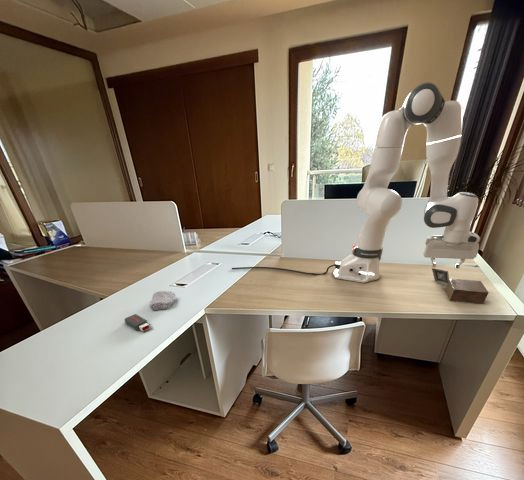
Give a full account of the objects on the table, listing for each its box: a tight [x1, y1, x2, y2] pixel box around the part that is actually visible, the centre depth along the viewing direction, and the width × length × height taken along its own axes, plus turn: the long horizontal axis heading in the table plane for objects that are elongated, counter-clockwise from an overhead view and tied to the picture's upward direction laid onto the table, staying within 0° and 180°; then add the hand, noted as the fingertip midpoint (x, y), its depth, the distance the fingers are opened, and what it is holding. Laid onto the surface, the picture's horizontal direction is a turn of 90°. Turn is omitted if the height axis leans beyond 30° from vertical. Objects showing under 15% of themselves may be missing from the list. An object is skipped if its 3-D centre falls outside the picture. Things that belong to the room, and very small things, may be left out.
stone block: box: [148, 290, 176, 311], centre depth 126 cm, size 12×5×10 cm
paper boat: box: [431, 267, 450, 286], centre depth 131 cm, size 12×6×9 cm
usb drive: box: [124, 313, 151, 333], centre depth 112 cm, size 5×12×3 cm, turn 48°
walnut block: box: [444, 278, 490, 305], centre depth 119 cm, size 12×12×5 cm
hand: (444, 267), depth 128 cm, fingers open, 8 cm apart
